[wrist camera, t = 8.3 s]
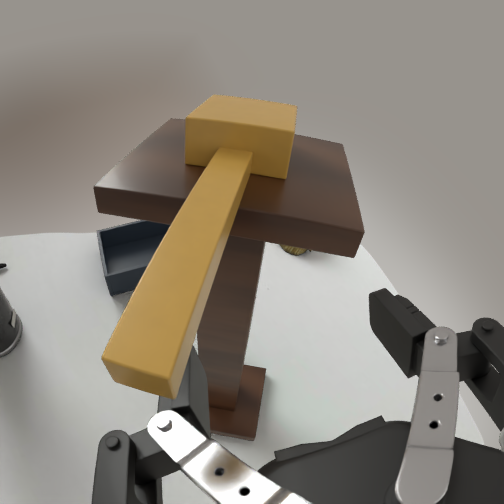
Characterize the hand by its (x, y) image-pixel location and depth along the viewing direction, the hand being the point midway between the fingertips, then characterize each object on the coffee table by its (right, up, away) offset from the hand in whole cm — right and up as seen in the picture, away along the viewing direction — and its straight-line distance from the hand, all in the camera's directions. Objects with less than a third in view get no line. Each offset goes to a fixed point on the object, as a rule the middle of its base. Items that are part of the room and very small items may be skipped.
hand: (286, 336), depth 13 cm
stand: (-5, -15, +24) cm, 29 cm away
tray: (-20, +2, +42) cm, 46 cm away
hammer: (-3, +5, -1) cm, 6 cm away
